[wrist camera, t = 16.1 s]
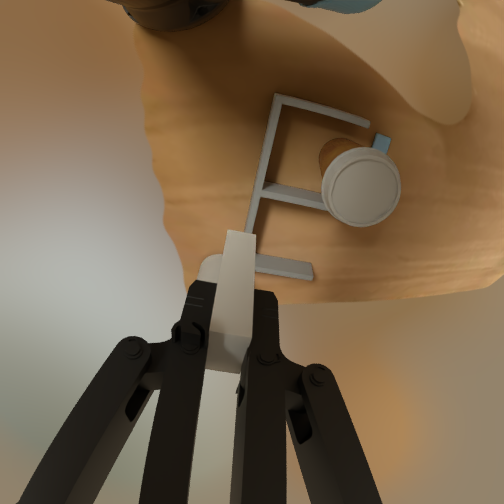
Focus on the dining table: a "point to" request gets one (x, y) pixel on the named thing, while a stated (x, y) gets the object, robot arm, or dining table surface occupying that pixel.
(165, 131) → the dining table surface
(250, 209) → the comb rack
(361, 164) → the disposable coffee cup
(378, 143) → the blue rectangular block
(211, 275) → the can
